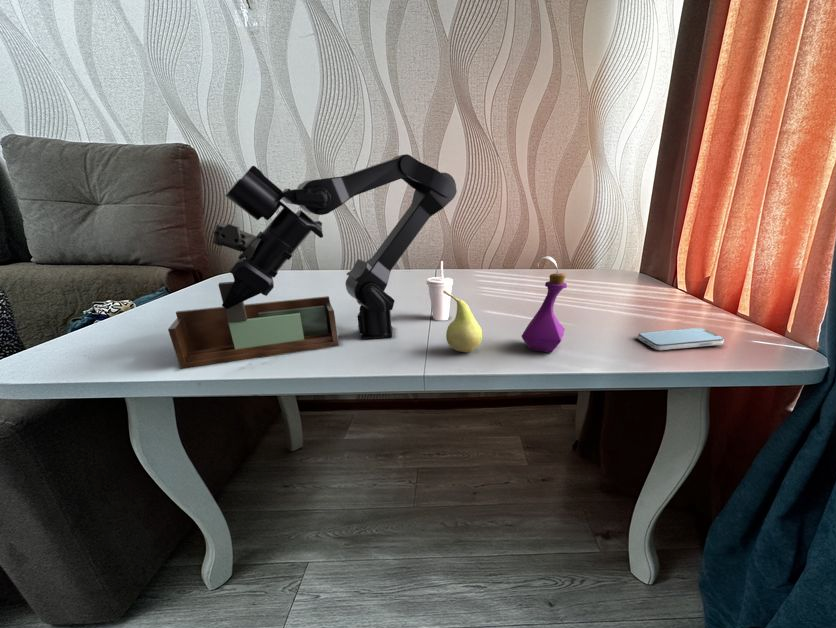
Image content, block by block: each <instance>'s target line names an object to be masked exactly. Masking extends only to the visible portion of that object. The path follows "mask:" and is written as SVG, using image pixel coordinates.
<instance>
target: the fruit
mask: <svg viewBox="0 0 836 628" xmlns="http://www.w3.org/2000/svg"><path fill="white" fill-rule="evenodd" d="M443 293H444V294H446V295H448V296H450V298H452V299H453V300H454V301H455V302H456V313H455V318H454V319H453V320H452V321H451V322H450V323H449V324H448V326H447V329H446V333H445V335H446V336H445V337H446V338H445V339H446V342H447V343H448V345H449V347H450V348H451V349H453V350H455V351H458V352H459V353H460V352H462V353H471V352H473V351H475V350H477V348H478V347H479V346H480V345H481V342H482V339H483V330H482V328H481V326H480V324H479V323H478V321H477V320H476V319H475V317H474V315H473V312H472V310H471V308H470V307H469V305H468V304H467V303H466V302H465V301H464V300H462V299H459V298H457V297H455V296H454V295H453V294H452V293H451V294H449V293H448V292H447V291H446V290H444V291H443Z"/></svg>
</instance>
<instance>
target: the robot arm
mask: <svg viewBox="0 0 836 628" xmlns="http://www.w3.org/2000/svg"><path fill="white" fill-rule="evenodd" d="M399 180H402V181H403V182H404V183H406V184H407V185H408V186H409V187H410V188H412V189H413V190H414V192H413V196H412V200H411V204H410V206H408V208H407V210H406V211H405V213H404V214H403V215H402V217H401V218H400V219H399V221H398V222H397V223H396V225H395V226H394V227H393V229H392V230H391V231H390V233H389V234H388V235H387V237H386V238H385V240H384V241H383V242H382V244H381V245H380V246H379V248H378V249H377V250H376V251H375V253H373V256H371V257H370V258H369V259H368V260H366V261H364V260H362V259H359V258H358V259H357V260H356V261H355V263H354V265H353V267H352V269H350V270H349V271H348V272H347V273H346V276H347V278H346V280H345V289H346V292H347V293H348V295H349V296H351V297H352V298H353V299H355V300H356V302H357V304H358V305H359V312H358V314H357V325H358V333H359V334H360V335H361V336H360V339H361V340H369V339H370V340H371V339H387V338H393V325H392V316H391V315H392V314H391V311H392V310H394V309H393V308H394V306H395V299H394V298H393V297H392V296H390V295H389V294H388V293H387V292H386V291H385V290H386V288H387V286H388V284H389V280H390V275H391V271H392V269H393V268H394V267H395V265H396V264H397V263H398V261H399V260H400V259H401V257H402V256H403V255H404V253H405V252H406V251H407V249H408V248H409V246H410V245H411V244H412V243H413V242H414V240H415V238H416V237H417V235H418V234H419V233H420V232H421V230H422V229H423V227H425V225H426V223H427V222H428V221H429V219H430V218H431V217H432V216H434V215H435V214H437V213H438V212H440V211H441V210H443V209H444V208H446V207H447V206H448V205H449V204H450V202H452V201H453V200H454V198H455V197H456V195H457V192H458V190H457V184H456V180H455V179H454V177H453V175H451V174H450V173H447V172H441V171H439V170H437V169H436V168H434V167H432V166H431V165H428V164H425V163H423V162H421V161H419V160H418V159H416V158H415V157H414V156H412V155H411V154H407V153H406V154H400V155H396V156H394V157H392V158H391V159H388V160H386V161H383V162H380V163H376V164H374V165H370V166H368V167H365V168H362V169H359V170H356V171H353V172H350V173H348V174H344V175H341V176H334V177H327V178H317V179H311V180H306V181H303V182H301V183H299V185H298V186H297V188H295V189H290V188H284V189H283V190H282V189H281V188H280V187H278V186H277V185H276V184H275V183H273V181H272V180H270V178H268V177H266V175H264V173H263V172H262V171H261V170H260V169H259V168H258V167H257V166H255V165H252V166H250V167H249V168H248V170H247V171H246V172H245V173H244V174H243V175H242V177H241V178H238V179H237V180H236V181H235V182H234V184H233V185H232V186H231V187H230V188H229V190H228V191H227V192H226V194H225V195H224V196H225V197H226V198H227V199H228V200H230V201H231V202H232V203H234V204H235V205H236V206H238V208H240V209H241V210H243V211H244V212H246V214H248V215H249V216H251V217H252V218H253V219H254V220H256V221H259V220H261V218H263V219H264V220H265V221H270V219H271V218H272V217H273V216H274V215H275V214H276V212H278V210H279V208H280V207H282V208H281V210H280V211H279V212H278V213H277V215H276V216H275V217H274V218H273V219H272V221H271V222H270V223H269V224H268V226H267V227H266V228H265V229H264V230H263V231H259V233H257V234H256V235H254V234H251V233H249V232H247V231H244V230H241V229H240V227H239V226H236V225H233V224H231V223H227V224H225V223H222V222H218V223H216V225H215V228H214V231H213V236H212V239H211V243H212V244H213V245H217V246H220V247H222V246H223V247H226V248H229V249H232V250H234V251H238V252H241V253H240V254H239V256H238V257H237V258H238V260H237V261H235V263H234V265H232V267H231V268H230V270H229V273H230V274H231V275H232V277H233V282H234V283H233V285H232V287H231V288H230V290H229V292H228V294H227V296H226V298H225V300H224V302H223V301H222V304H221V307H225V308H226V309H229V308H231V307H233V306H235V305H237V304H239V303H241V302H245V301H248V300H249V299H252V298H254V297H256V296H258V295H260V294H261V295H263V296H265V297H267V296H268V295H269V294H270V293H271V292H272V291H273V289H274V288H275V283H274V278H276V276H277V275H278V273H279V270H280V269H282V267H283V266H284V264H285V263H286V262H287V261H290V260H291V259H292V257H293V254H294V253H295V251H296V250H297V249H299V247H300V246H301V244H302V243H303V242H304V241H305V240H306V238H307V237H309V235H310V234H311V232H312V233H313V234H315V235H316V236H317V237H318V238H320V239H322V238H324V233H323V222H322V221H320V220H314V219H312V218H311V217H310V216H309V215H308V214H312V215H317V216H324V215H328V214H329V213H332V212H333V211H334V210H336V209H338V208H340V207H341V206H342V205H344V204H345V203H346V202H348V201H349V200H350V199H352V198H354V197H355V196H358V195H360V194H363V193H366V192H369V191H372V190H373V189H377V188H380V187H383V186H385V185H388V184H391V183H393V182H396V181H399ZM282 201H283V202H284V203H285V204H286V205H285V204H284V203H283V202H282ZM287 204H289V205H295V206H298V207H300V208H301V209H302V210H298V211H296V212H294V211H293V210H292V209H290V208H289V207H288V206H287ZM305 212H306V213H308V214H306V213H305Z"/></svg>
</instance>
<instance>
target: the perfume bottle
mask: <svg viewBox="0 0 836 628" xmlns="http://www.w3.org/2000/svg"><path fill="white" fill-rule="evenodd" d="M544 259H546V260H549V261H551V262H552V263H553V264H554V266H555V267H556V273H550V274H549V280H548V281H546V282H545V283H544V286H545V288H546V289H547V293H546V296H545V297H544V300H543V301H542V303H541V306H540V307H539V309H538V310H537V312H536V314H535V315H534V316H533V318H532V319H531V320H530V321H529V323H528V324H527V326H526V328H525V329H524V331H523V332H522V334H521V339H522V340H523V342H524V343H525V344H526V346H527V347H528V349H529V350H530V351H534V352H541V353H550V354H551V353H553V352H554V351H555V349H556V348H558V346H559V344H560V343H561V342H562V340H563V337H564V333H565V330H566V328H565V327H564V326H563V325H562V324H561V322H560V321H559V320H558V318H557V317H556V315H555V312H554V307H555V302H556V300H557V297H558V295H559V294H560V293H561V292H562V291H563V290H564V289H567V287H568V284H567V282H564V281H565V279H566V277H567V275H566V274H565V273H564V272H563V273H559V267H558V264H557V261H556V260H555V259H554V257H552V256H550V255H547V256H542V257H541V258H539V260H538V262H537V267H539V265H540V263H541V261H542V260H544Z"/></svg>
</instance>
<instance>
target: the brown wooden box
mask: <svg viewBox="0 0 836 628" xmlns="http://www.w3.org/2000/svg"><path fill="white" fill-rule="evenodd" d="M244 306H245V310H246V315H247V319H251V318H260V317H269V316H278V315H287V314H296V313H300V318H301V324H302V329H303V335H304V340H298V341H291V342H284V343H276V344H269V345H262V346H255V347H248V348H240V349H235V347H234V344H233V340H232V336H231V332H230V328H229V324H228V321H227V317H226V313H225V309H224V307H223V306H216V307H206V308H205V307H204V308H195V309H185V310H177V311H176V312H175V314H176V319H174V321H173V322H172V324H171V325H170V326H169V327H168V328H167V330H168V335H169V337H170V340H171V343H172V346H173V349H174V352H175V355H176V359H177V362H178V365H179V368H180V370H186V369H193V368H199V367H205V366H206V367H207V366H212V365H220V364H225V363H233V362H240V361H246V360H252V359H253V360H254V359H258V358H266V357H272V356H279V355H285V354H292V353H299V352H306V351H313V350H317V349H319V350H320V349H326V348H332V347H339V345H340V344H339V338H338V337H339V336H338V330H337V323H336V322H337V321H336V315H335V310H334V308H333V306H332V304H331V300H330V296H329V295H325V296H315V297H306V298H297V299H296V298H295V299H285V300H275V301H267V302H265V301H264V302H255V303H244Z"/></svg>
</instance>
